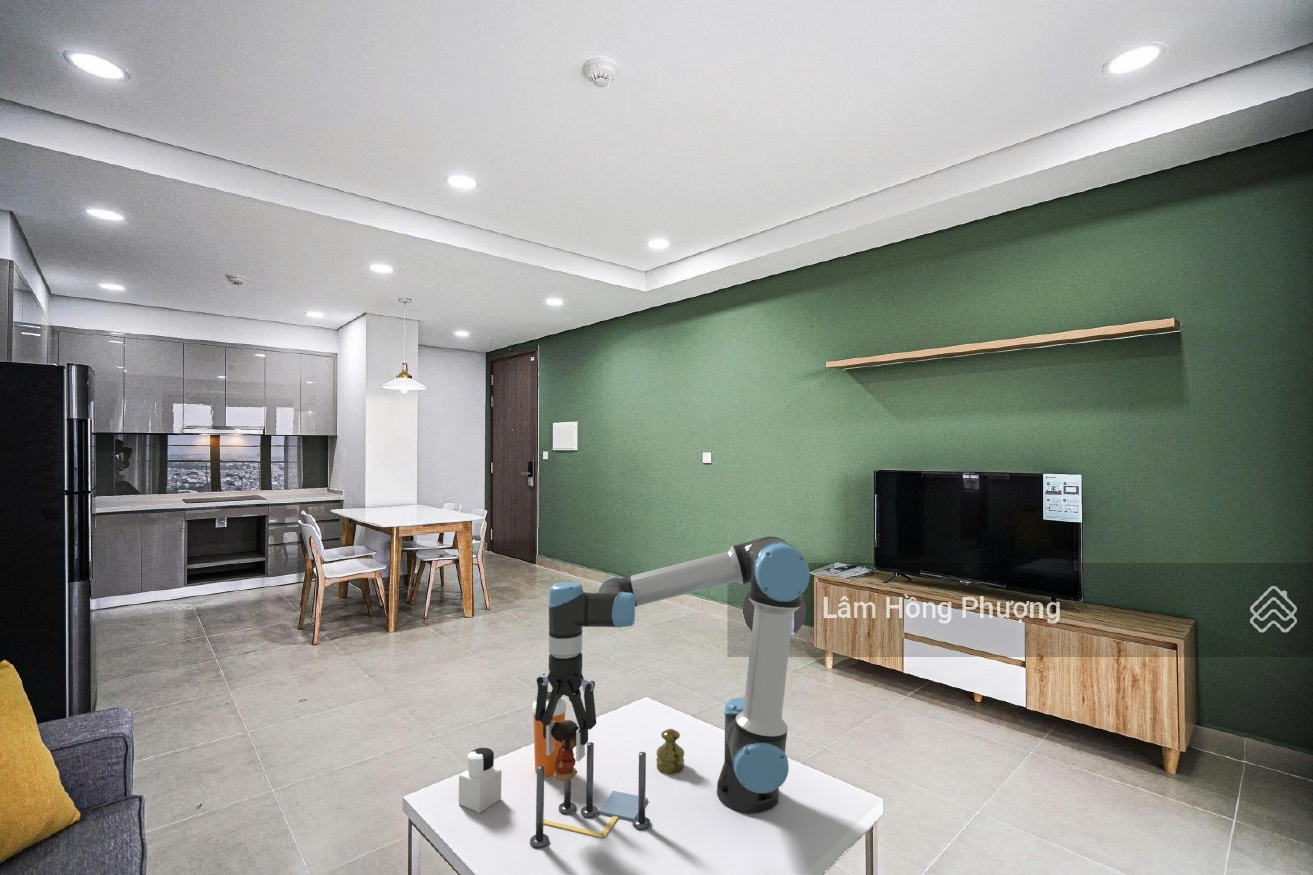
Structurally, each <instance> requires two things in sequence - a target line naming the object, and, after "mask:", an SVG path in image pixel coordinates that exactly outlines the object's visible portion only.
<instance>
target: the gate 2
mask: <svg viewBox="0 0 1313 875" xmlns="http://www.w3.org/2000/svg"><path fill="white" fill-rule="evenodd" d="M594 749H595V744H594V742H593V741H592V742H591V741H590V742H587V743H586V784H585V785H586V791H585V792H586V796H585V806H582V808H581V809H580V815H581V817H583V818H586V819H591V818H595V817H597V815H598V814H599V813H598V810H599V808H598V807H597V806H595V805H594V764H595V763H594V762H595V761H594V755H595V754H594V753H595V752H594V751H595V750H594ZM646 763H647V753H646V752H645V751H640V752H638V792H637V793H638V795H637V796H638V816H637V818H635V819H634V820H633V821H632V827H633V828H634V829H635V830H639V831H645V830H647V829H649V828H650V827H651V820H650V818H648V817H647V816H646V803H645V797H646V791H647V790H646V779H647V778H646V777H647V776H646V774H647V770H646V768H647V764H646Z"/></svg>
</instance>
